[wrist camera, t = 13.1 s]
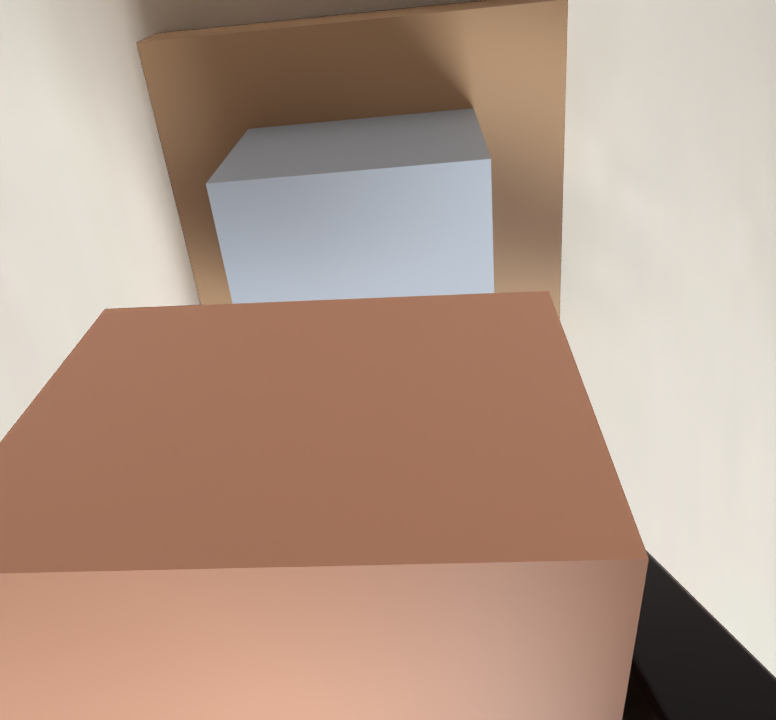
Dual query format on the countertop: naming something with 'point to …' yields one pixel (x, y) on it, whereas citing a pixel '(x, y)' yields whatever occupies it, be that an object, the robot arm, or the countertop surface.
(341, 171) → the slate brick
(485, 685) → the terracotta brick
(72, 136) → the countertop surface
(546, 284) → the base plate
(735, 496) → the countertop surface
